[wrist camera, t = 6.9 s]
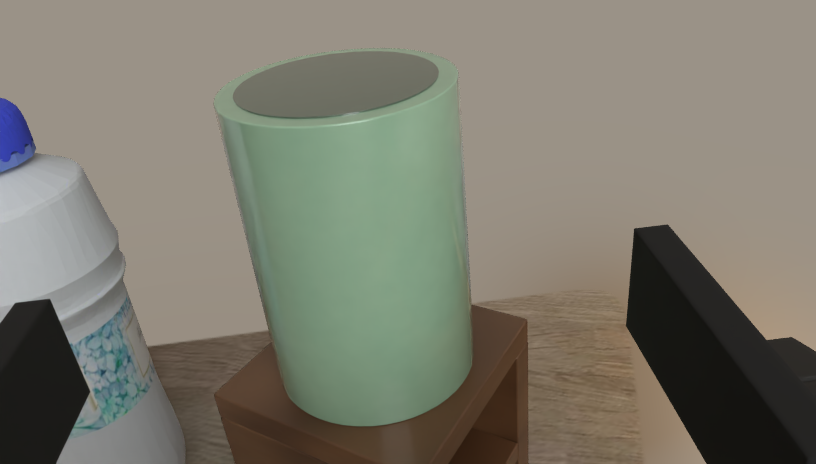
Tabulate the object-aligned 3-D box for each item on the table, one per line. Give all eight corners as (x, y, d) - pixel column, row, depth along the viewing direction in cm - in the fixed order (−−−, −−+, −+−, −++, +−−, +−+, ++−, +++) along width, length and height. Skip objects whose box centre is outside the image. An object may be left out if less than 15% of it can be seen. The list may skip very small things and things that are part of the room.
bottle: (223, 494, 32) (88, 92, 23) (81, 585, 29) (-153, 156, 19) (169, 421, 37) (37, 60, 27) (41, 491, 34) (-164, 108, 24)
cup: (238, 387, 26) (158, 109, 20) (352, 282, 31) (314, 41, 26) (411, 456, 22) (371, 139, 16) (505, 323, 27) (498, 53, 22)
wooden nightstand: (260, 545, 30) (212, 393, 25) (371, 410, 36) (348, 271, 32) (439, 642, 26) (419, 480, 21) (528, 470, 32) (528, 318, 28)
